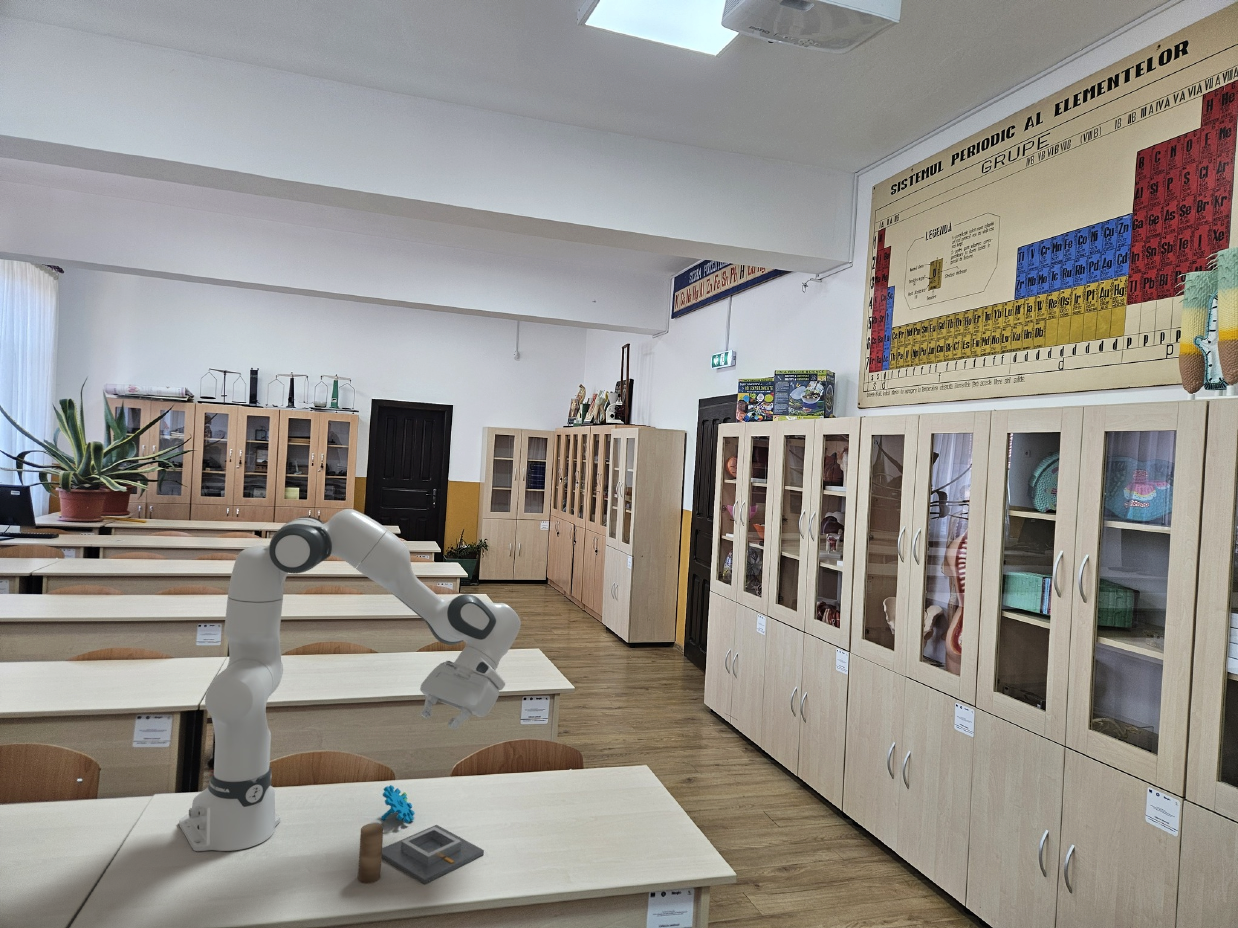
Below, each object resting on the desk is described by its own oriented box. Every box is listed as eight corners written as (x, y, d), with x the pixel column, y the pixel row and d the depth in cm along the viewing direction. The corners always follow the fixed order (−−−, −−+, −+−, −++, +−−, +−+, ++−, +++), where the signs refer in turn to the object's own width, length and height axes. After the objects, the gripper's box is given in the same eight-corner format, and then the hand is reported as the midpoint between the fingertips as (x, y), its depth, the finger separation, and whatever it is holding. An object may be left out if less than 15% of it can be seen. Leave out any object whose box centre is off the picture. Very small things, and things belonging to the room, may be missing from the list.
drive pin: (353, 876, 158) (356, 828, 158) (372, 868, 162) (374, 821, 161) (366, 885, 155) (369, 836, 155) (384, 876, 159) (387, 828, 159)
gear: (409, 824, 177) (382, 790, 178) (389, 842, 177) (361, 808, 178) (422, 809, 188) (396, 776, 189) (403, 826, 188) (377, 793, 189)
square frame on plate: (376, 854, 167) (377, 840, 167) (436, 828, 180) (437, 815, 180) (424, 884, 157) (425, 869, 157) (483, 854, 170) (484, 840, 170)
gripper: (436, 651, 182) (400, 702, 175) (496, 670, 169) (460, 726, 162) (451, 666, 186) (415, 717, 178) (511, 686, 173) (475, 741, 166)
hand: (437, 721), depth 170 cm, fingers open, 8 cm apart
